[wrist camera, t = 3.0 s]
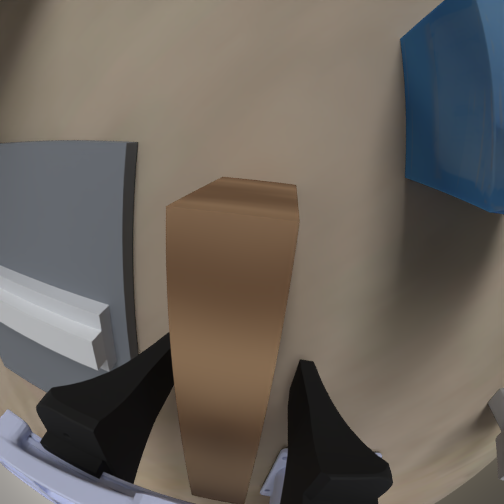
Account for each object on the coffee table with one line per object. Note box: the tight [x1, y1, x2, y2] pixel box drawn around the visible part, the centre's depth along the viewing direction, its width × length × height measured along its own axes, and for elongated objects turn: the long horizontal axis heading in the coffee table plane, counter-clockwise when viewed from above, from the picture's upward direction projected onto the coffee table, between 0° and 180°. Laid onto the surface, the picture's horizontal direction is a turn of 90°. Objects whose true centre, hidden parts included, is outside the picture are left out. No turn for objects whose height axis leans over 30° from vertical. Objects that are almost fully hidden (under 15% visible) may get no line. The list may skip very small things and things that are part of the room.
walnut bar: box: [166, 177, 300, 504], centre depth 12 cm, size 16×3×6 cm, turn 175°
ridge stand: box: [0, 140, 138, 392], centre depth 15 cm, size 20×16×3 cm
